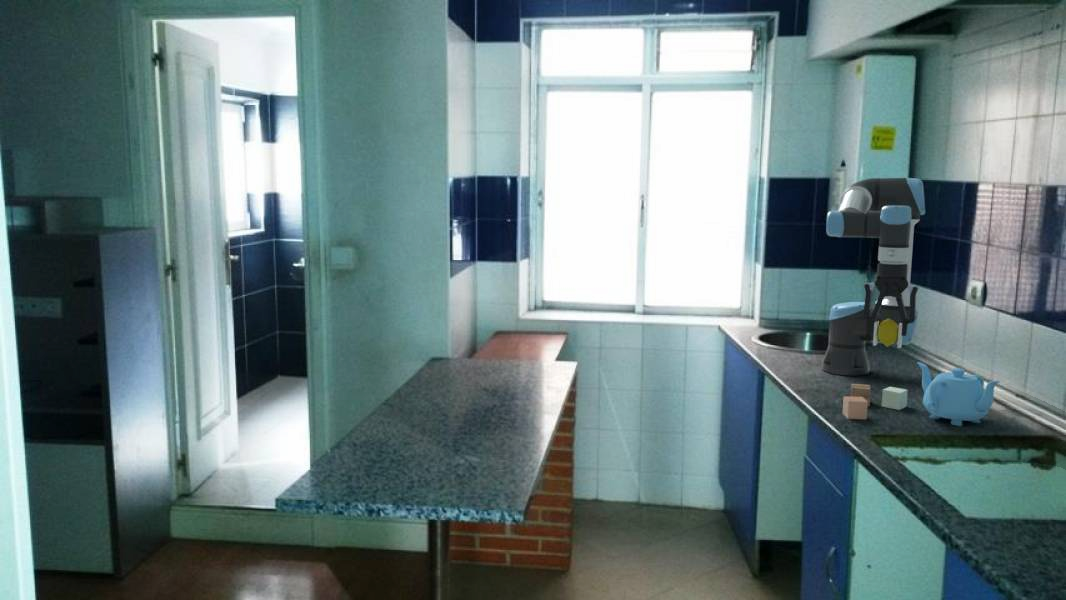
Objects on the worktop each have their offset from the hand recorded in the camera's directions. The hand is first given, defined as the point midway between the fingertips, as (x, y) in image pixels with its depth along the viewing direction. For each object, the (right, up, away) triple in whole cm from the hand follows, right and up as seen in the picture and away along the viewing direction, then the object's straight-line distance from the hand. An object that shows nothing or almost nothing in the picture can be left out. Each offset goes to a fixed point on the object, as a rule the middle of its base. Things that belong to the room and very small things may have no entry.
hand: (887, 345), depth 220 cm
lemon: (0, 0, 0) cm, 1 cm away
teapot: (+16, -20, -4) cm, 26 cm away
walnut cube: (-3, -17, +11) cm, 21 cm away
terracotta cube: (-10, -19, -2) cm, 22 cm away
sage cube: (+5, -18, +8) cm, 20 cm away
